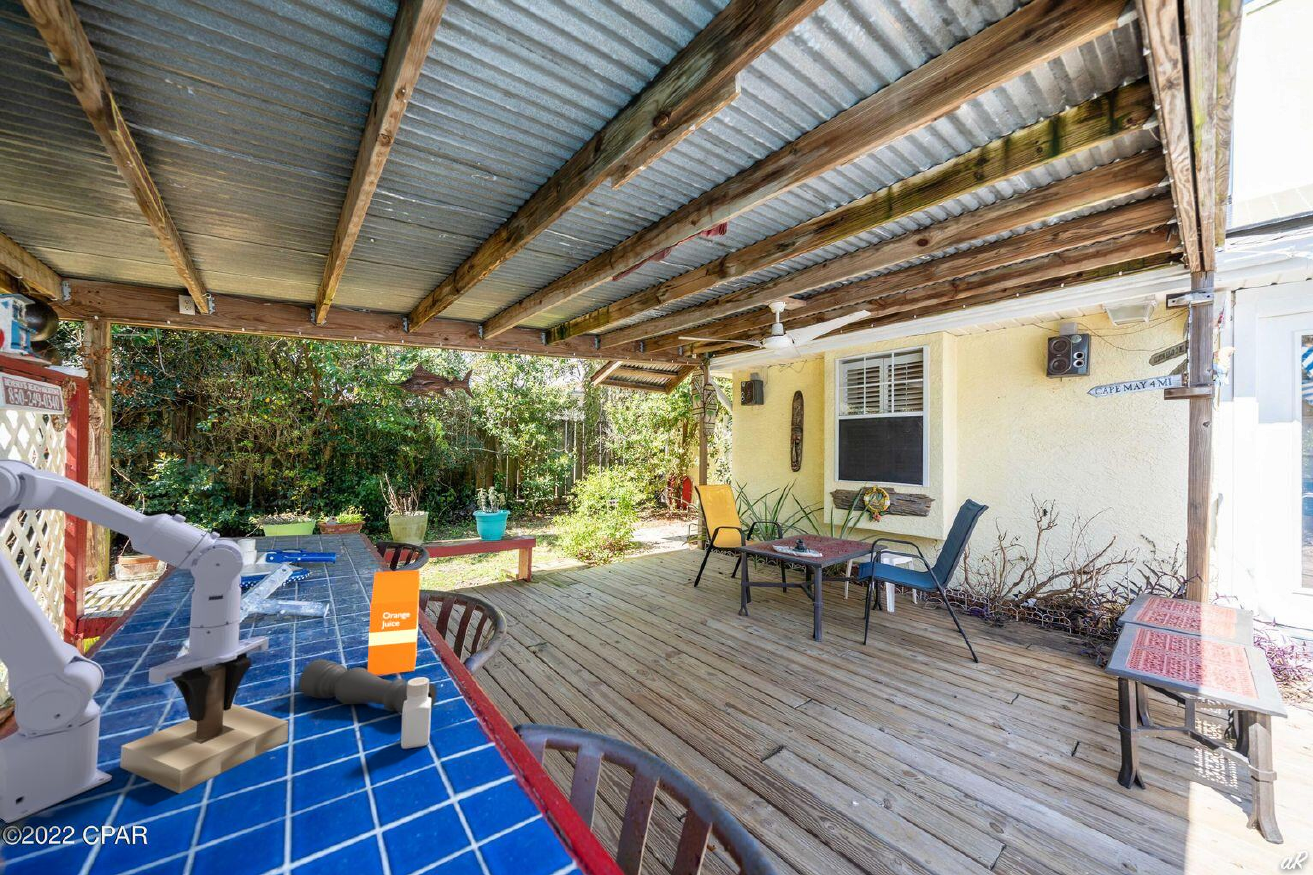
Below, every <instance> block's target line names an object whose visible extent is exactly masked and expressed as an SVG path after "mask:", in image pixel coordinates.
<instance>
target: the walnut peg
mask: <svg viewBox="0 0 1313 875" xmlns="http://www.w3.org/2000/svg"><path fill="white" fill-rule="evenodd" d="M202 671H205V673H204V674H206V675H209V676H211V679H210V682H209V685H208V689H207V693H206V699H205V714H204V719H203V720H201V721H199V722H197V730H196V738H198V739H206V738H211V737H214V736H216V735H218V734H220V733H221V732H222V729H223V711H224V692H225V674H226V666H224V665H212V666H209V667H206V668H203V669H202Z"/></svg>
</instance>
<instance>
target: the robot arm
mask: <svg viewBox="0 0 1313 875" xmlns="http://www.w3.org/2000/svg"><path fill="white" fill-rule="evenodd" d="M44 510H45V511H47V510H49V511H50V510H51V511H52V510H54V511H55V510H56V511H60V512H64V513H67V514H69V515H72V516H74V517H77V518H79V519H82V520H85V521H87V522H90V523H92V524H95V525H97V526H101V527H103V528H106V529H109V530H111V531H114V532H117V533H119V534H122V535H124V536H127V537H128V538H129V540H130V544H131V548H132V549H133V550H134V551H136V552H139V553H142V554H144V555H146V556H149V557H151V558H153V559H155V560H158V561H161V562H163V563H165V564H167V565H170V566H173V567H175V568H178V569H179V570H180V569H181V570H190V574H191V575H192V577H193V578H194V591H193V593H192V594H191V603H190V604H191V609H190V625H189V641H188V642H189V643H188V653H186V654H184V655H181V656H178V657H176V658H174V659H171V660H169V661H166V662H164V663H162V664H159V665H156V666H152V667H150V668H148V669H149V670H148V671H149V672H148V683H150V684H152V685H160V684H164V683H166V682H167V681H168V680H172V681H173V683H174V684H175V685H176V687H177V688H178V690H179V692H180V693H181V695H182V697H183V699H184V702H185V705H186V709H187V713H188V717H189V720H190V719H191V720H193V721H196V722H199V721H201V720H203V719H204V714H205V699H206V693H207V689H208V685H209V682H210V679H211V676H209V675H206V674H204V673H205V671H202V669H204V668H206V667H210V666H215V665H224V666H226V674H225V692H224V710H225V711H227V710H229V709H231V706H232V704H233V703H234V699H235V697H236V693H237V692H238V691H237V690H238V688H239V686H240V684H241V682H242V681H243V679H244V676H245V675H246V673H248V671H249V669H250V668H251V667H252V663H253V662H252V661H253V659H252V658H251V657H248V655H250V654H253V653H255V652H265V651H267V650H269V642H270V641H269V637H268V636H264V635H263V636H262V635H259V636H256V637H251V638H246V639H241V640H239V636H240V620H241V619H240V617H241V605H242V604H241V603H242V602H241V600H242V588H241V586H240V585H241V584H242V576H241V571H242V570H243V567H244V564H245V563H244V561H243V560H244V552H243V549H242V548H241V546H239V544H238V543H237V542H235V541H233V539H232V538H229V537H221V536H220V533H218V532H216V531H212V532H211V533H210V532H207V531H205V530H203V529H201V528H198V527H196V526H194V525H191V524H190V523H187V522H185V521H186V519H187V517H185V516H183V515H181V514H179V513H176V514H175V515H173V516H171V515H170V514H168V513H161V514H160V513H159V514H154V515H145V514H143V513H140V512H139V511H137V510H135V509H133V508H131V507H129V506H126V505H124V504H122V503H120V502H118V501H117V500H115V499H112V498H111V497H108V496H106V495H105V494H102V493H100V492H98V491H95V490H94V489H91V487H89V486H86V485H83V484H81V483H79V482H77V481H75V480H73V479H71V478H68V477H66V476H64V475H61V474H59V473H57V472H54V471H51V470H48V469H47V470H46V469H44V468H36V467H35V466H34V465H33V464H30V463H28V462H25V461H23V460H17V459H9V458H7V459H0V531H1V530H2V529H3V528H4V526H5V524H6V523H7V522H8V521H9V519H10V518H11V516H12V515H13V514H14V513H16V512H17V511H44ZM0 660H1V662H2V664H3V665H4V666H5V668H6V670H7V676H8V681H7V685H8V686H7V689H8V693H9V694H10V695H11V697H12V699H13V700H14V704H15V705H14V706H15V707H14V713H13V716H14V720H15V723H16V724H17V725H18V729H17V731H16V732H14V733H12V734H10V735H8V736H7V737H3V738H2V739H0V818H1V819H3V820H4V821H5V822H4V821H3V822H4V823H6V824H9V823H10V824H11V823H12V822H13V823H14V822H15V821H18V820H20V819H23V818H25V817H28V816H30V815H32V814H35V813H37V812H40V811H41V810H44V809H46V808H49V807H51V806H53V805H56V804H58V803H60V802H62V801H63V802H64V801H65V800H68V799H70V798H72V797H75V796H77V795H79V794H82V793H84V792H86V791H89V790H92V789H93V788H95V787H98V786H100V785H102V784H105V783H107V782H110V781H111V780H112V778H113V776H112V775H111V774H109V773H106V772H104V771H102V770H101V769H98V756H99V755H98V754H99V753H98V752H99V740H100V738H99V737H100V736H99V735H100V723H101V706H100V705H99V704H98V703H97V702H96V701H95V699H94V698H93V697H94V695H95V694H96V693H98V691H99V690H100V689H101V687H102V685H103V682H104V680H105V672H104V669H103V668H102V666H101V665H100V664H99V663H97V662H96V661H93V660H91V659H89V658H86V657H85V656H83V655H82V654H81V652H80V651H79V650H78V647H76V646H74V645H72V644H70V643H67V642H66V641H64V640H63V639H62V637H61V635H60V634H59V632H58V631H57V630H56V628H55V627H54V625H53V624H52V622H51V621H50V620H49V618H48V617H47V615H46V614H45V612H44V611H43V609H42V607H41V606H40V605H39V603H38V602H37V600H36V599H35V597H34V596H33V594H32V593H31V591H30V590H29V589H28V587H27V586H26V584H25V583H24V582H23V580H22V578H21V577H20V575H19V574H18V572H17V571H16V569H15V568H14V567H13V565H12V564H11V561H10V560H9V559H8V557H6V555H5V552H4V551H3V550H2V549H1V548H0ZM1 819H0V820H1Z"/></svg>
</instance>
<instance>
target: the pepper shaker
mask: <svg viewBox="0 0 1313 875" xmlns="http://www.w3.org/2000/svg"><path fill="white" fill-rule="evenodd" d="M406 682H407V700H406V701H404V704H403V710H402V715H401V731H400V732H401V733H400V735H401V736H400V746H401V748H402V749H411V748H419V747H424V746H426V745H428V744H429V742H430V737H431V736H430V735H431V718H432V717H431V716H432V715H431V714H432V710H431V698H430V697H428V692H429V683H430V679H429V678H428V677H424V676H422V677H421V676H420V677H414V678H411V679H409V680H408V681H406Z"/></svg>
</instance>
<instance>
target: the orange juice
mask: <svg viewBox="0 0 1313 875" xmlns="http://www.w3.org/2000/svg"><path fill="white" fill-rule="evenodd" d="M419 602H420V570H417V569H416V570H415V569H413V570H395V571H394V570H393V571H374V577H373V586H372V595H371V602H370V613H369V614H370V615H369V631H368V632H369V633H368V656H367V657H368V658H367V670H368V671H369V672H371V673H373V674H374V675H376V676H377V675H378V676H379V675H389V674H396V673H405V672H412V671H413V672H414V671H415V670H416V663H417V662H416V661H417V652H418V648H417V647H418V630H419V607H420V606H419V605H420V603H419Z"/></svg>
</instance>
